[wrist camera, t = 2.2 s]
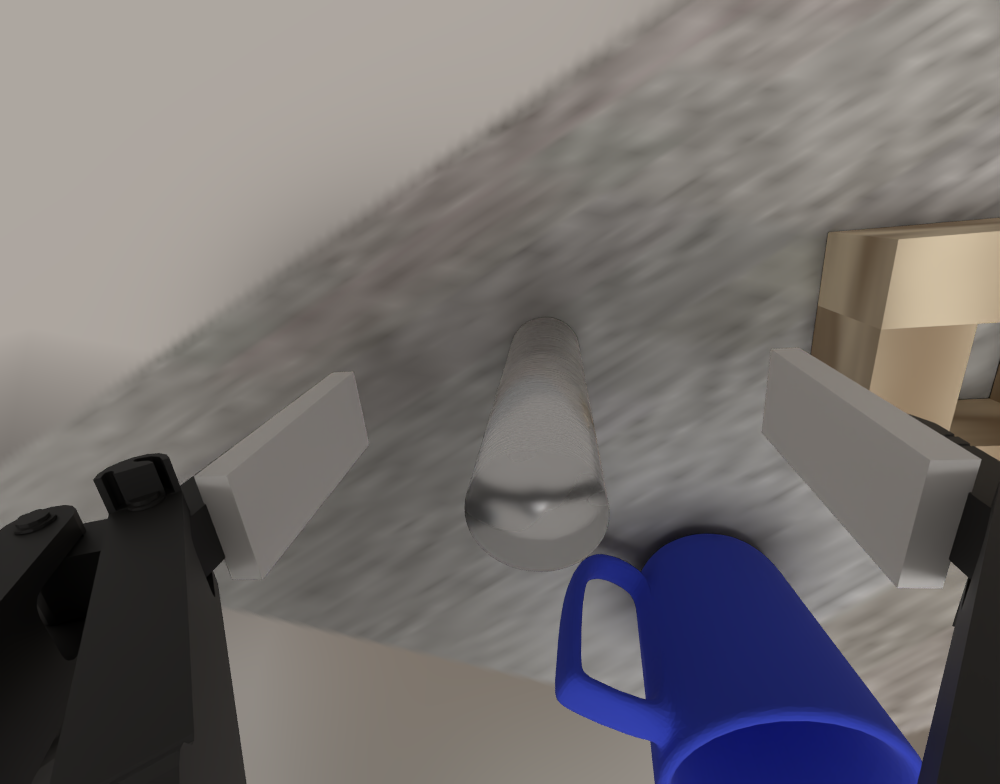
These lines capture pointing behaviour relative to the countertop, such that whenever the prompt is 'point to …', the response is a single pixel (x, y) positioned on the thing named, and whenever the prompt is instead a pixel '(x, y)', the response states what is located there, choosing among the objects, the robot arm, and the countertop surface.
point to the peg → (539, 458)
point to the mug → (732, 675)
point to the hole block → (914, 318)
